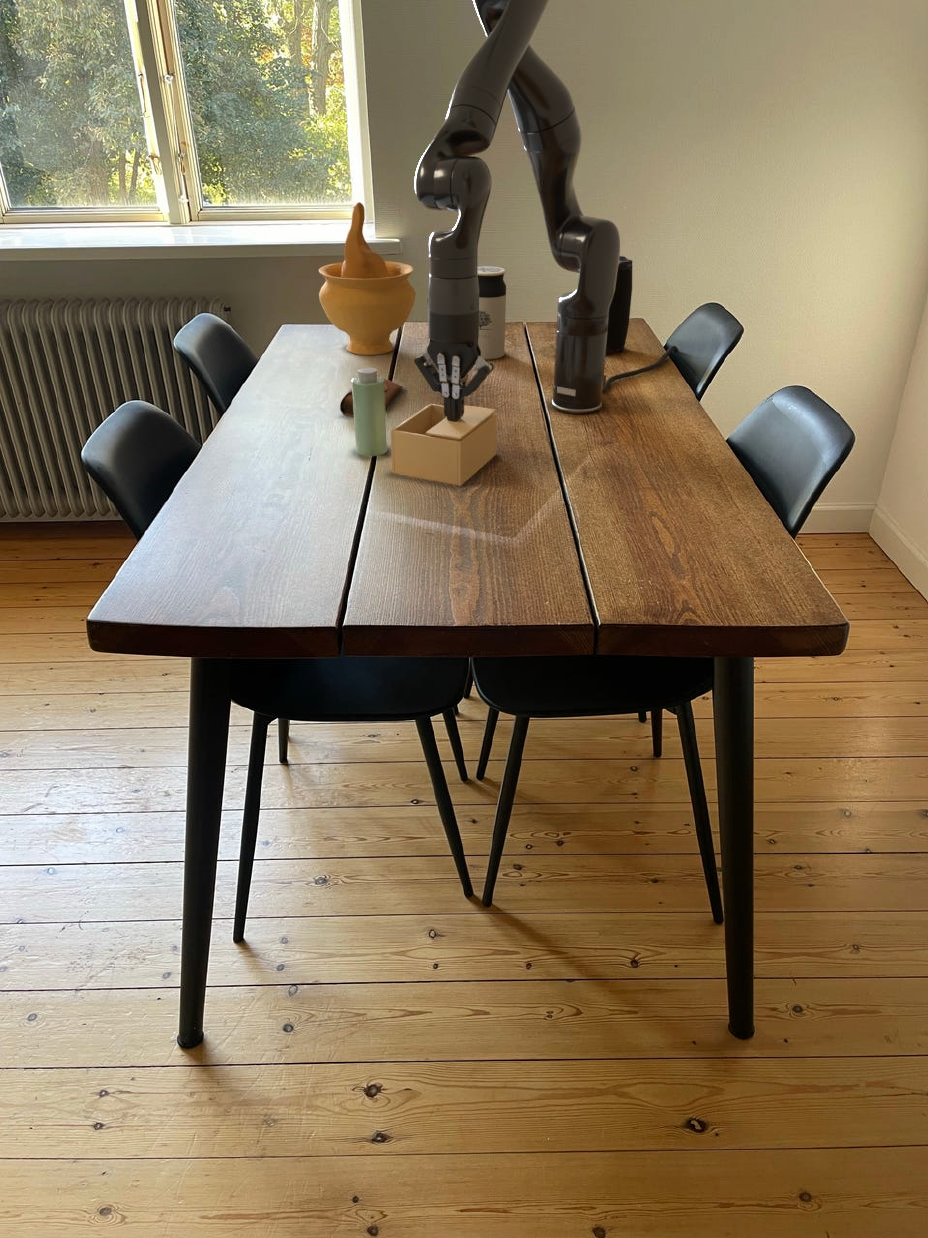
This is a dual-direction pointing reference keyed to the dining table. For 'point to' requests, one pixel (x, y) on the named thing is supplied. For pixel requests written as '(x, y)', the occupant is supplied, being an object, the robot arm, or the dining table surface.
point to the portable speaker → (620, 307)
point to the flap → (461, 423)
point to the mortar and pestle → (366, 293)
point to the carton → (440, 448)
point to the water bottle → (369, 413)
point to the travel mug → (491, 312)
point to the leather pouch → (390, 393)
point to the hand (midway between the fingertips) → (453, 419)
